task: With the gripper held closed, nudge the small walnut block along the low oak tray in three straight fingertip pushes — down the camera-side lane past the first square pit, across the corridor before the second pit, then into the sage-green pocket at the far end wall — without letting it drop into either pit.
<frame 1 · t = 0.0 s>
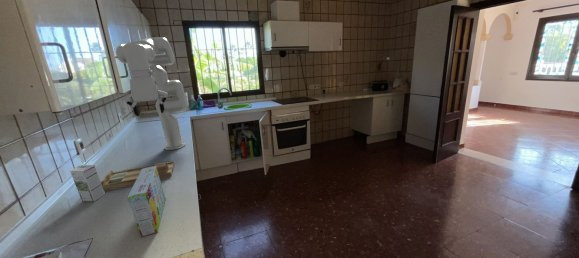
hand: (150, 113, 104), 31 cm above the counter, fingers open, 9 cm apart
tray: (141, 177, 115), on the counter
block: (162, 172, 114), point 2 cm above the counter, touching tray
snack box: (154, 216, 84), on the counter
syrup box: (93, 198, 99), on the counter
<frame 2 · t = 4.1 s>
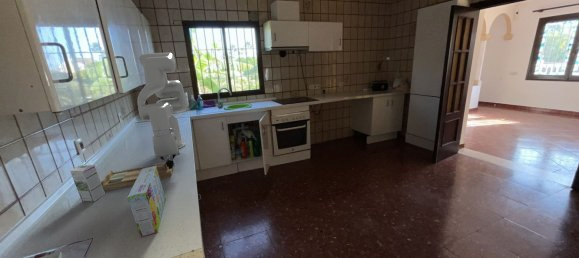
hand: (171, 167, 115), 3 cm above the counter, fingers closed
block: (161, 172, 114), point 2 cm above the counter, touching gripper, tray
everything else where it was.
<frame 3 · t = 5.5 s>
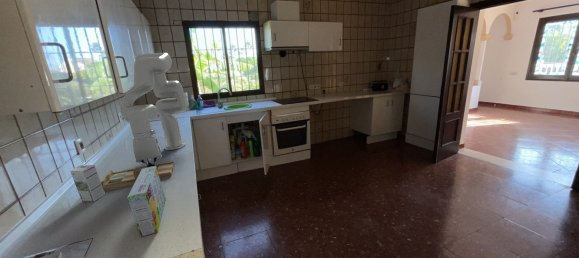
hand: (152, 171, 112), 4 cm above the counter, fingers closed
block: (142, 176, 111), point 2 cm above the counter, touching gripper, tray
everything else where it was.
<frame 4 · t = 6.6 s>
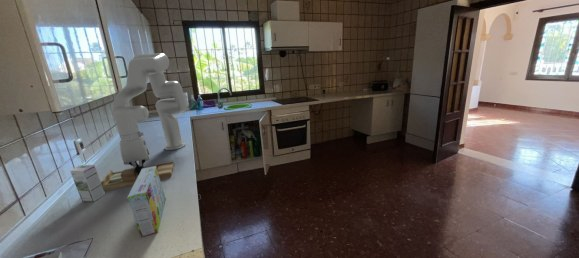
hand: (140, 173, 111), 4 cm above the counter, fingers closed
block: (130, 178, 110), point 2 cm above the counter, touching gripper
everything else where it was.
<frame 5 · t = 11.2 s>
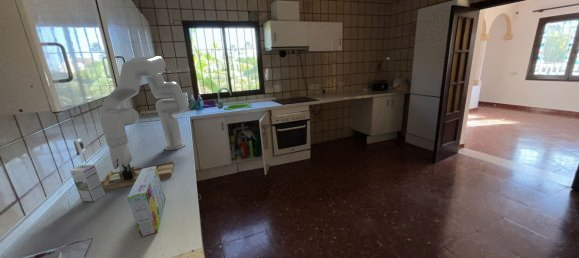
hand: (128, 178, 106), 3 cm above the counter, fingers closed
block: (128, 177, 110), point 2 cm above the counter, touching gripper, tray
everything else where it was.
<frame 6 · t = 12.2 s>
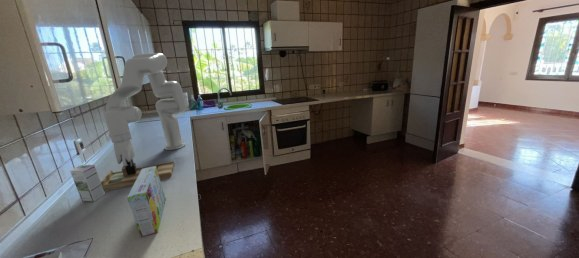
hand: (131, 173, 111), 4 cm above the counter, fingers closed
block: (130, 173, 115), point 2 cm above the counter, touching gripper, tray
everything else where it was.
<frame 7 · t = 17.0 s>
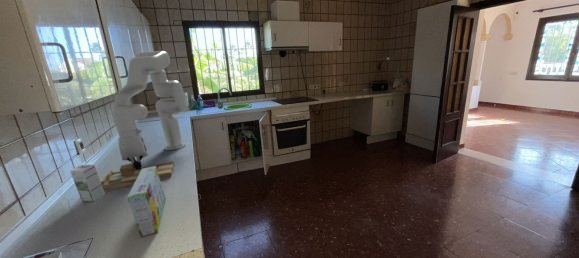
hand: (138, 168, 116), 4 cm above the counter, fingers closed
block: (128, 173, 115), point 2 cm above the counter, touching gripper
everything else where it was.
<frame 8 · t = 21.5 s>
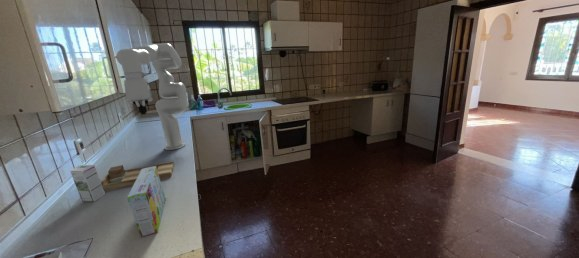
hand: (144, 113, 117), 29 cm above the counter, fingers closed
block: (118, 175, 114), point 2 cm above the counter, touching tray
everything else where it was.
at the end: block 0.6 cm from the target spot on the tray, point 2.0 cm above the tray's base; block tilted 0° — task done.
